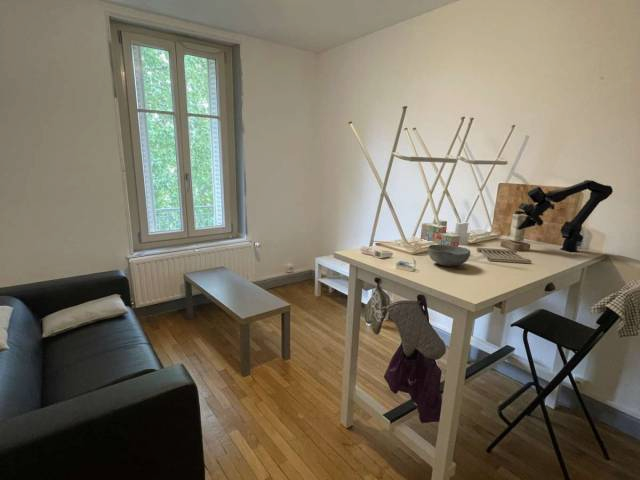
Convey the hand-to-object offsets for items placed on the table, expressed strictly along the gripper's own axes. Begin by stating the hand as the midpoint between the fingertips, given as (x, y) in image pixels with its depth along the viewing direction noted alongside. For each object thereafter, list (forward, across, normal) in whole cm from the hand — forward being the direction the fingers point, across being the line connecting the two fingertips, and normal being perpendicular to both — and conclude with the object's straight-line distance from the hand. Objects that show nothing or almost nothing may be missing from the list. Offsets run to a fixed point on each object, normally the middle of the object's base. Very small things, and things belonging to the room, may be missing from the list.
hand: (515, 228), depth 185 cm
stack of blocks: (+39, +6, -23) cm, 46 cm away
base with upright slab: (+27, -9, -10) cm, 30 cm away
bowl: (+43, +36, -27) cm, 63 cm away
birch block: (+4, 0, +6) cm, 7 cm away
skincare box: (+34, -13, -18) cm, 41 cm away
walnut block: (+8, 0, +9) cm, 12 cm away
